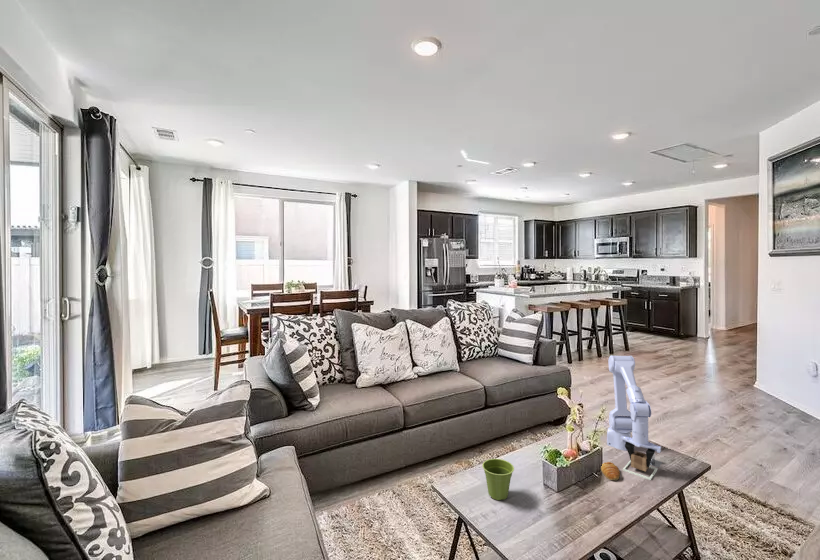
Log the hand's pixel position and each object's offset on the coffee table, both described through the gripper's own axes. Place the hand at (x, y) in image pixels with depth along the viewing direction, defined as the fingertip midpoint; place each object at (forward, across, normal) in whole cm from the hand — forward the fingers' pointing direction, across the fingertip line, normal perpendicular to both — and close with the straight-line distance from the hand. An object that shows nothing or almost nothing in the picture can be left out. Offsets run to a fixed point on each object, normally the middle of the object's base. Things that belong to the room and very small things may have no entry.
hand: (640, 463), depth 159 cm
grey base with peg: (+4, +2, +10) cm, 11 cm away
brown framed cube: (+1, 0, 0) cm, 1 cm away
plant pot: (+4, -34, -54) cm, 64 cm away
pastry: (+4, -8, -9) cm, 13 cm away
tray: (+4, 0, 0) cm, 4 cm away
